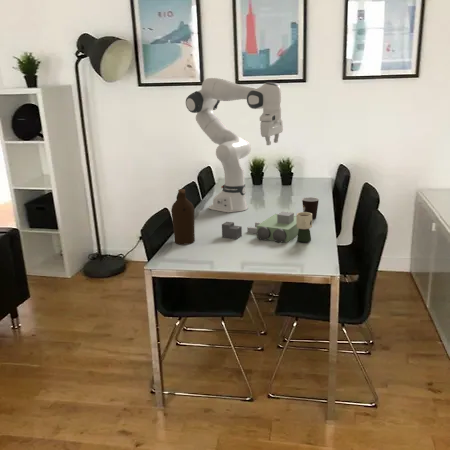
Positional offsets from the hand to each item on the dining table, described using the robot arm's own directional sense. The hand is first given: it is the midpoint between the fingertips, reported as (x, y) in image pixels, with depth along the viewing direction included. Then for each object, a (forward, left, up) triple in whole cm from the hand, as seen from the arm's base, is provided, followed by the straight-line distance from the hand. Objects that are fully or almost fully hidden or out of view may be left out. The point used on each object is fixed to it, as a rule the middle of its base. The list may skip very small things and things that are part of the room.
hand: (272, 143), depth 260 cm
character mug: (+27, -27, -40) cm, 56 cm away
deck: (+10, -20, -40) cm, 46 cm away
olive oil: (-24, -49, -40) cm, 68 cm away
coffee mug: (+16, +12, -40) cm, 45 cm away
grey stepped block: (-6, -34, -40) cm, 53 cm away
